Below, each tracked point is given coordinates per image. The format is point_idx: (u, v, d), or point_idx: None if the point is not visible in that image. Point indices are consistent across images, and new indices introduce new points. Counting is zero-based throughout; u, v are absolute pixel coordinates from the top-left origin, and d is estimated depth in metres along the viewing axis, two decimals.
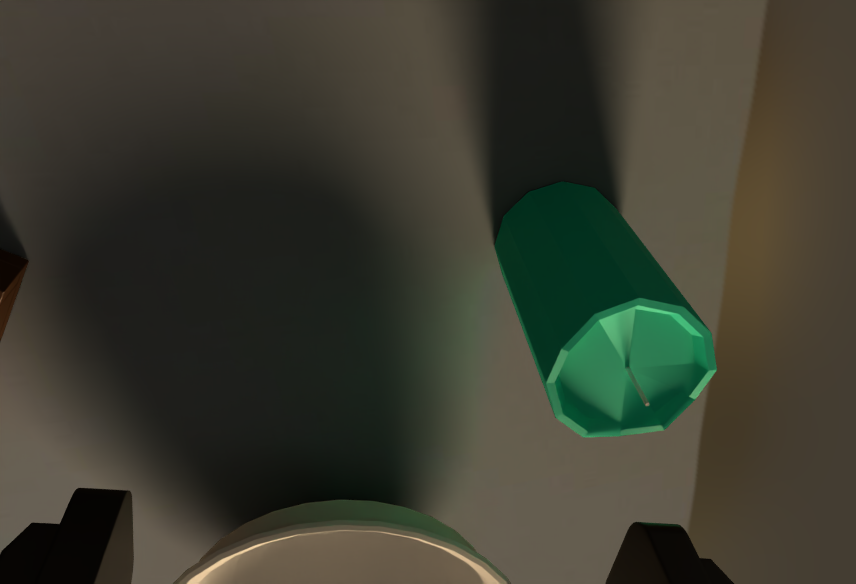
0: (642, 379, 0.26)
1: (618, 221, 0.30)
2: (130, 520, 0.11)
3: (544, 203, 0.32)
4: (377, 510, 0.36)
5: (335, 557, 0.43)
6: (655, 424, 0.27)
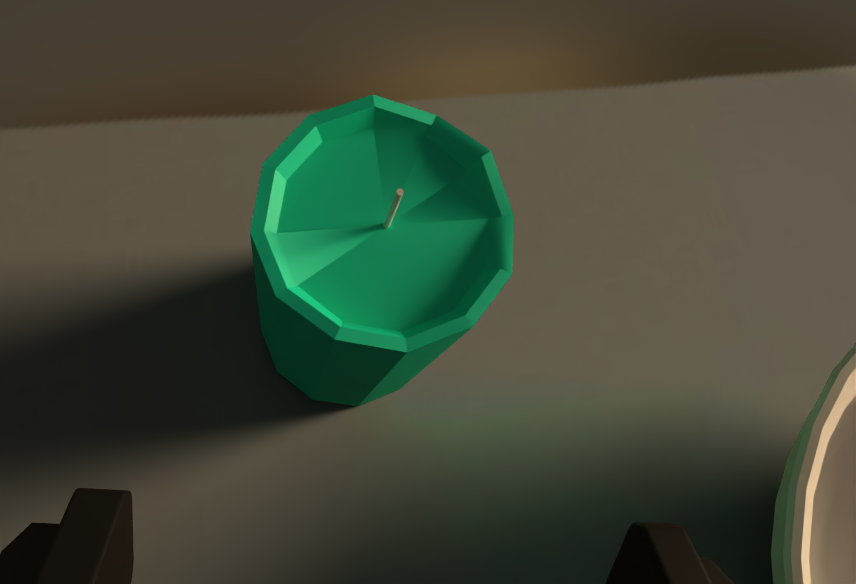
0: (407, 199, 0.17)
1: None
2: (130, 520, 0.11)
3: (272, 353, 0.24)
4: (780, 550, 0.23)
5: None
6: (483, 165, 0.17)
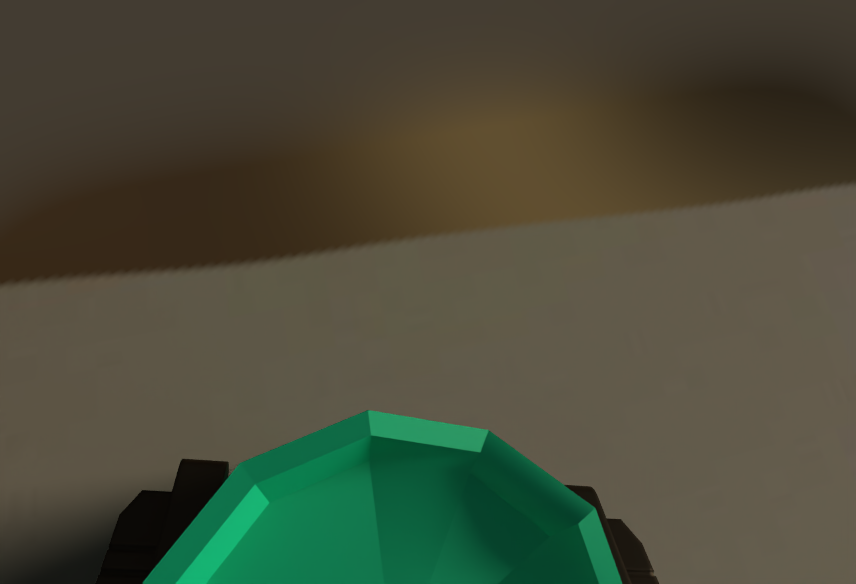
0: None
1: None
2: None
3: None
4: None
5: None
6: (581, 536, 0.09)
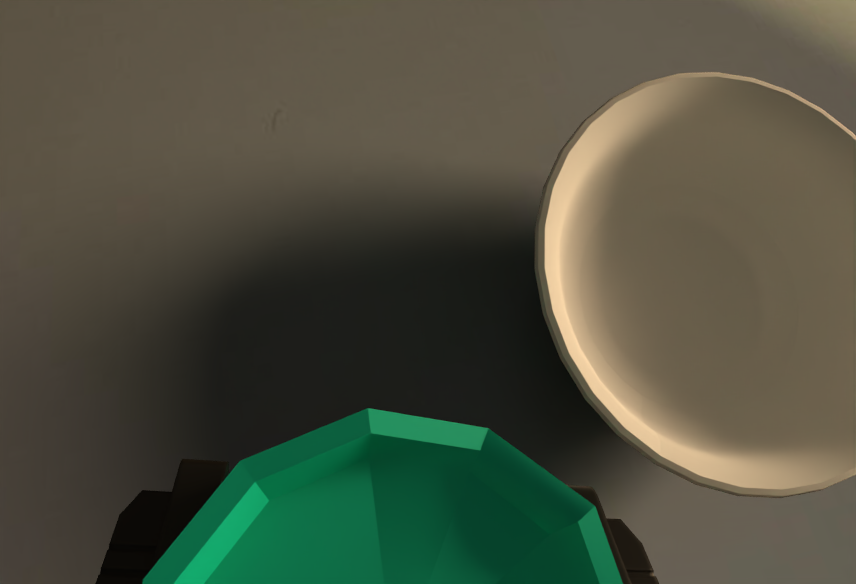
0: None
1: None
2: None
3: None
4: None
5: (662, 305, 0.39)
6: (580, 534, 0.09)
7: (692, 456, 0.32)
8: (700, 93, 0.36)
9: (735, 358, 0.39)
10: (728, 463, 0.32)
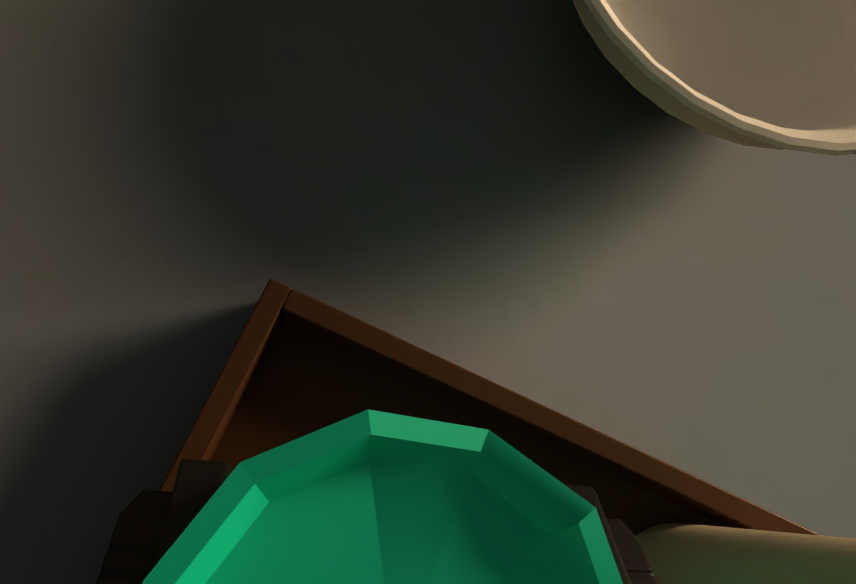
0: None
1: None
2: None
3: None
4: None
5: (690, 11, 0.34)
6: (581, 536, 0.09)
7: (731, 110, 0.27)
8: None
9: (772, 71, 0.34)
10: None
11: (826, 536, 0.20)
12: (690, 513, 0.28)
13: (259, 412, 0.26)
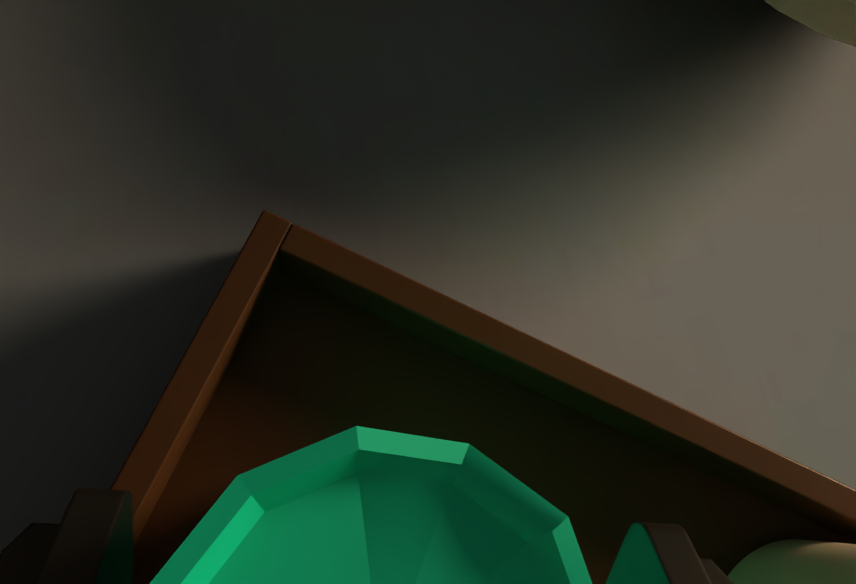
0: None
1: None
2: (130, 520, 0.11)
3: None
4: None
5: None
6: (555, 543, 0.10)
7: None
8: None
9: None
10: None
11: None
12: (814, 527, 0.21)
13: (249, 391, 0.20)
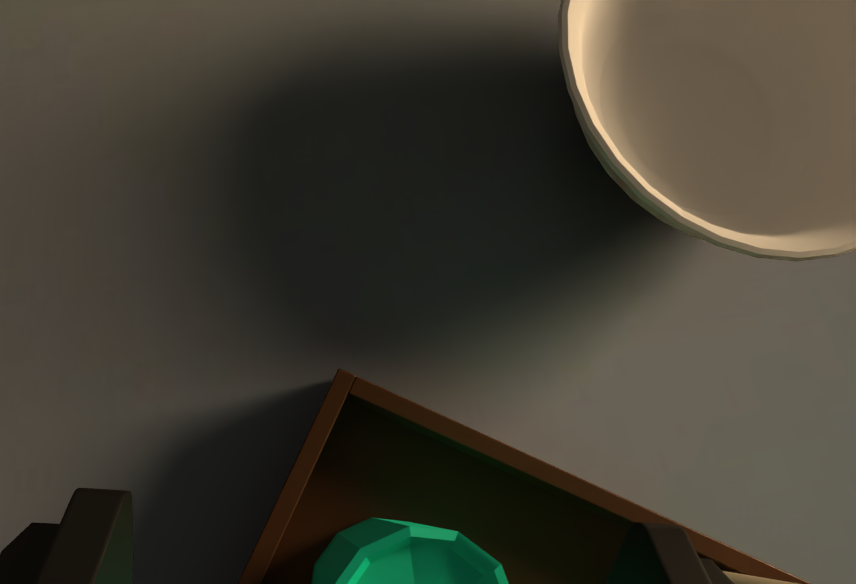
0: None
1: (317, 574, 0.28)
2: (130, 520, 0.11)
3: None
4: None
5: (679, 122, 0.40)
6: (495, 575, 0.22)
7: (712, 224, 0.33)
8: None
9: (750, 171, 0.40)
10: (746, 234, 0.34)
11: (782, 582, 0.26)
12: None
13: (328, 475, 0.32)
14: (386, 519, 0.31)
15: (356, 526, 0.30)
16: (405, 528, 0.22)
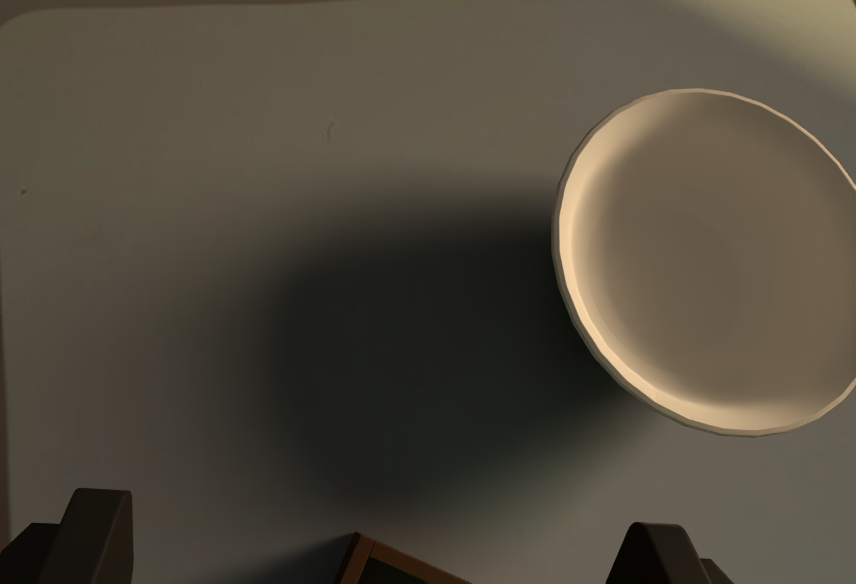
0: None
1: None
2: (130, 520, 0.11)
3: None
4: None
5: (658, 285, 0.46)
6: None
7: (681, 404, 0.38)
8: (687, 106, 0.43)
9: (719, 329, 0.46)
10: (712, 410, 0.39)
11: None
12: None
13: None
14: None
15: None
16: None
